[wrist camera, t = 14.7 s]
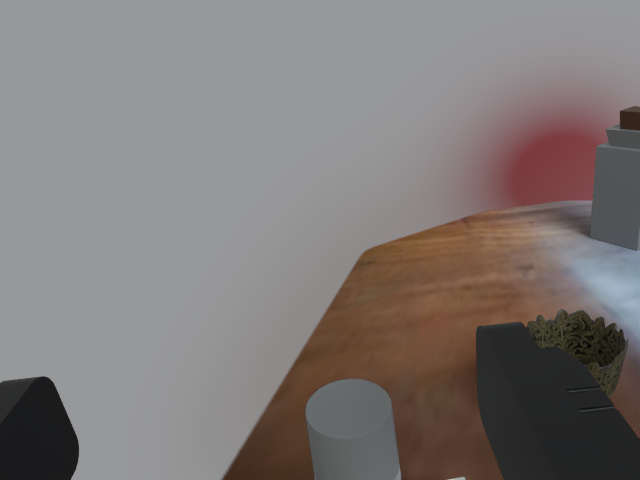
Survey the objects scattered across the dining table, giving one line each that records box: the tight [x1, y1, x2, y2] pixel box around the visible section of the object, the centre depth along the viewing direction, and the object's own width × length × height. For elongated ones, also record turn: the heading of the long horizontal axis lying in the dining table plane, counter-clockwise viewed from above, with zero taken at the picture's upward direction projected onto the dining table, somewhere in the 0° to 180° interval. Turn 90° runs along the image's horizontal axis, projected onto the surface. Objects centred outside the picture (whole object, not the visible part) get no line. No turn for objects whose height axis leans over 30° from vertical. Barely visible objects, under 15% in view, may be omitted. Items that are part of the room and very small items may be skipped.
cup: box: [527, 309, 628, 399], centre depth 44 cm, size 8×7×8 cm
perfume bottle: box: [590, 106, 640, 251], centre depth 71 cm, size 7×7×18 cm
